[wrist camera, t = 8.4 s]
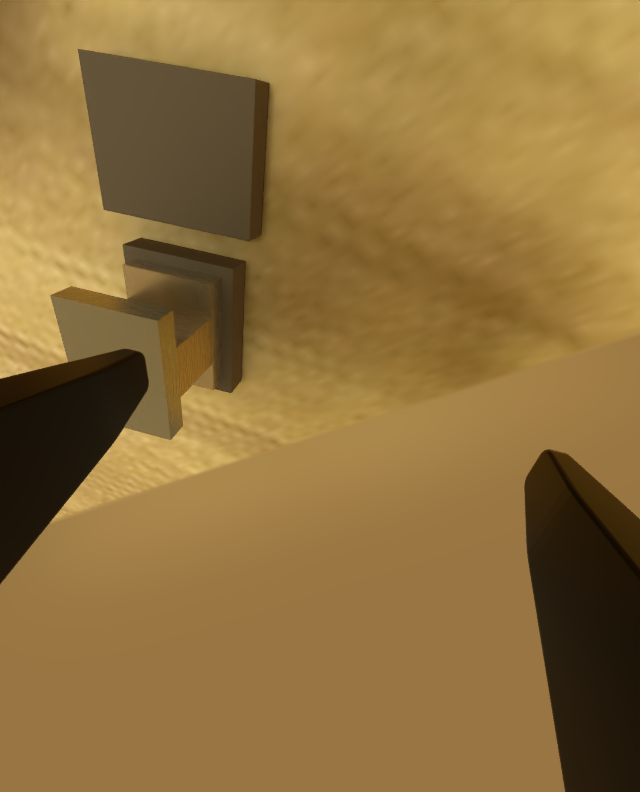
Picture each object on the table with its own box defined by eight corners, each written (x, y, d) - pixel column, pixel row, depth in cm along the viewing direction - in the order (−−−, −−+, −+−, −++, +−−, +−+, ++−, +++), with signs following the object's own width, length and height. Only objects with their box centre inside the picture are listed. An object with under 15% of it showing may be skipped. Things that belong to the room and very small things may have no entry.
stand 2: (140, 238, 21) (122, 244, 19) (245, 261, 20) (233, 269, 19) (154, 357, 25) (140, 369, 24) (241, 380, 24) (231, 393, 23)
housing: (221, 277, 19) (157, 320, 15) (221, 379, 23) (170, 440, 18) (136, 258, 20) (50, 295, 15) (150, 361, 23) (83, 416, 19)
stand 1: (103, 55, 16) (77, 48, 15) (269, 83, 16) (255, 79, 15) (123, 205, 20) (103, 209, 19) (260, 234, 19) (249, 241, 18)
